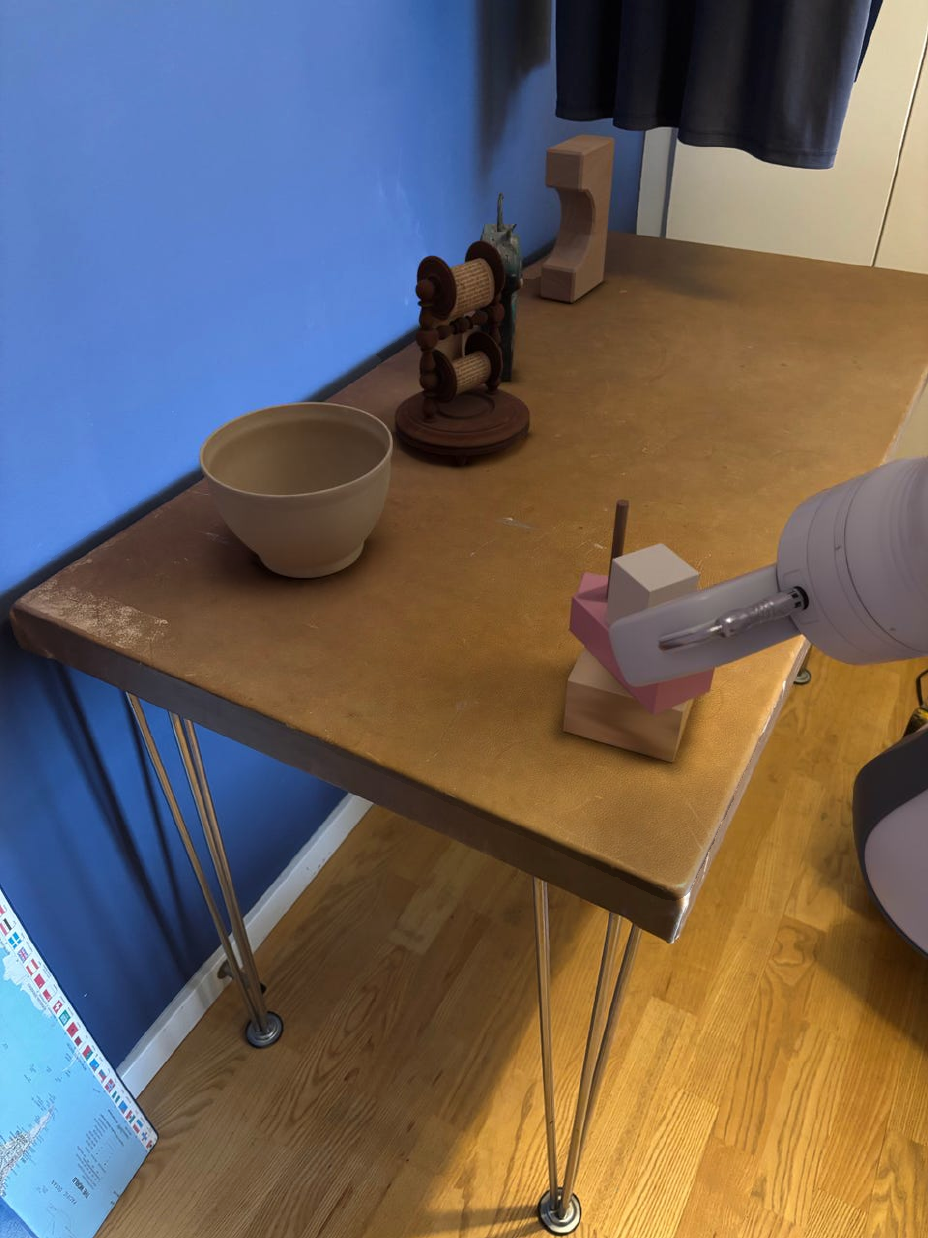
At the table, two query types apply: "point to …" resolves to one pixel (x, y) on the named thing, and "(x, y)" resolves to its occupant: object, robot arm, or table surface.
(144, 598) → the table surface
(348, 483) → the planter bowl
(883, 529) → the robot arm
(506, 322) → the ceramic cat
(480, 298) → the scroll
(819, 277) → the table surface
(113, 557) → the table surface
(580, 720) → the birch block
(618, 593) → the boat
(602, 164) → the decorative block
